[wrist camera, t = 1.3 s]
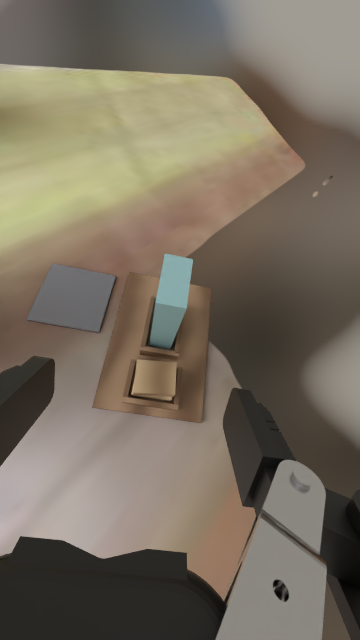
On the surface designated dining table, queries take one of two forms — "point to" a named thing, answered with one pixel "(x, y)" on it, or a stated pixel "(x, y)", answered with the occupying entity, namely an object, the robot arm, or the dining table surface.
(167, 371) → the offcut top
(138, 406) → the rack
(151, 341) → the teal rectangular block
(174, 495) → the dining table surface
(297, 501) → the robot arm
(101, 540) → the dining table surface
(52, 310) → the mat
